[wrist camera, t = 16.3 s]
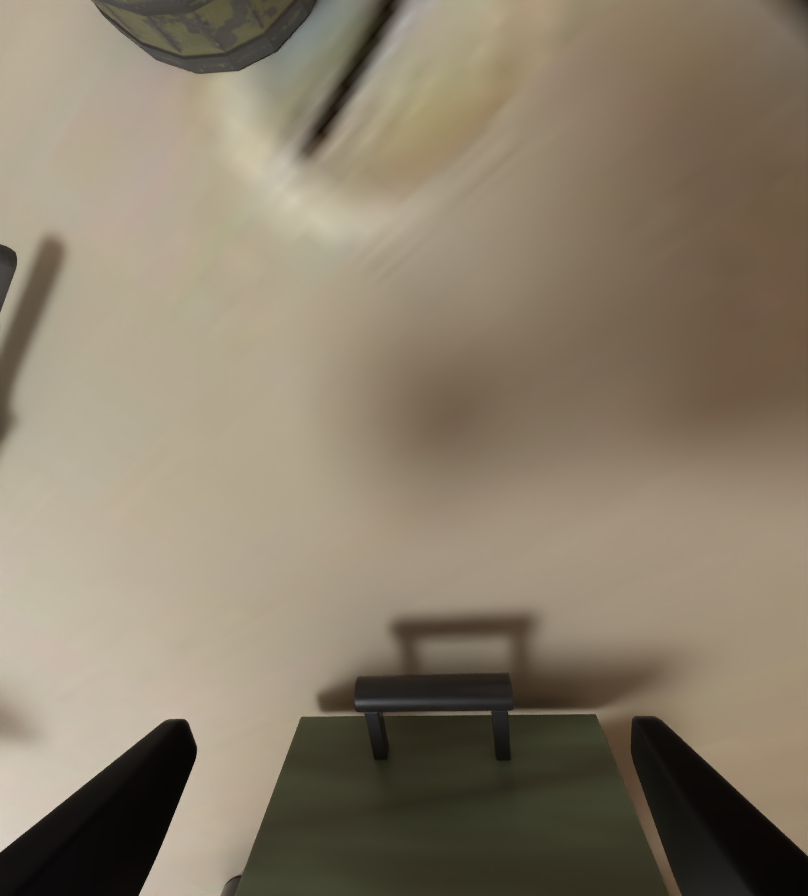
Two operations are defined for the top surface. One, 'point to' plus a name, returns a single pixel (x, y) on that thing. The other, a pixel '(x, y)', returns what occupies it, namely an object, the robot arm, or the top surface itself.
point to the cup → (231, 887)
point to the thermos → (206, 29)
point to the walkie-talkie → (6, 270)
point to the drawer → (449, 801)
